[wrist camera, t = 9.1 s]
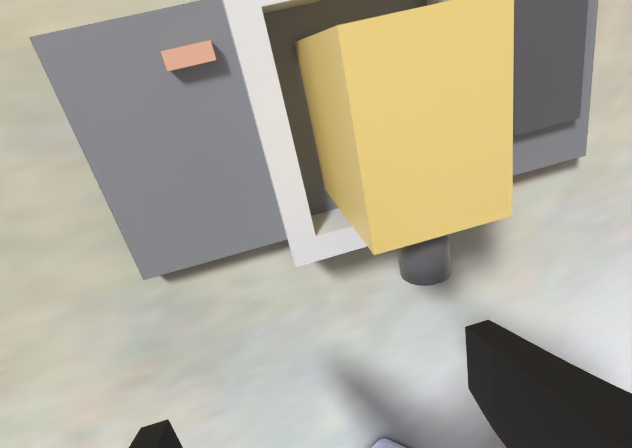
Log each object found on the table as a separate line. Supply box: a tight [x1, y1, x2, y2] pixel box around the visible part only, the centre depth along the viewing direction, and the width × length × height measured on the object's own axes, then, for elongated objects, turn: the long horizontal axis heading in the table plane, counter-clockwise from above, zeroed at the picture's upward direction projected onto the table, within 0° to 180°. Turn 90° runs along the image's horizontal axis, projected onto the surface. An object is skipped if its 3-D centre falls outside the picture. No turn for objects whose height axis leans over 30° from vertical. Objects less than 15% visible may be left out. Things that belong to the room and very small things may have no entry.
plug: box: [295, 0, 514, 285], centre depth 12 cm, size 4×8×6 cm, turn 12°
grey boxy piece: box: [29, 0, 598, 280], centre depth 14 cm, size 20×10×3 cm, turn 102°
